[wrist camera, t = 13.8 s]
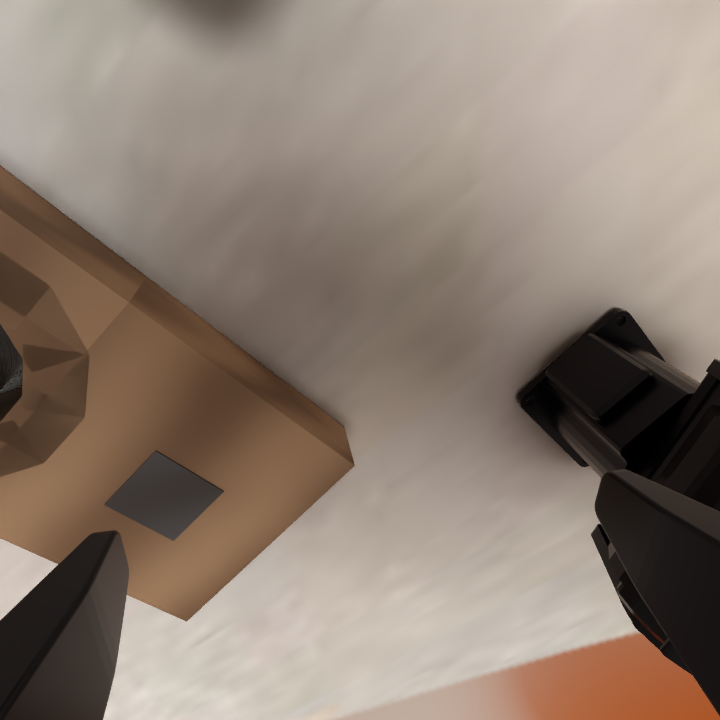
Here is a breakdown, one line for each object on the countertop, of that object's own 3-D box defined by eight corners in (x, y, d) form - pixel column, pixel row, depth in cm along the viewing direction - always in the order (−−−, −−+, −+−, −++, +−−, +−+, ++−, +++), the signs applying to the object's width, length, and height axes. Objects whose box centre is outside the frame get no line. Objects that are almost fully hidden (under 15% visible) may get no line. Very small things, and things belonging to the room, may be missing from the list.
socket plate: (343, 426, 24) (355, 466, 21) (194, 569, 26) (186, 622, 23) (-84, 102, 16) (-154, 99, 13) (-252, 346, 18) (-344, 387, 15)
